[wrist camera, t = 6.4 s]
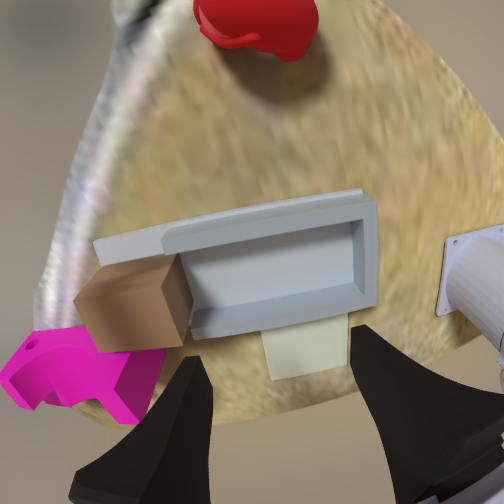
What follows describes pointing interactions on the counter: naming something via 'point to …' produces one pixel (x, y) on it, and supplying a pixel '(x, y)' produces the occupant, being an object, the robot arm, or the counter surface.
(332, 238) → the trough deck
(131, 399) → the magenta cradle bracket
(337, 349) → the sage coaster
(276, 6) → the red rounded piece
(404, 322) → the counter surface
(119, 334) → the walnut block
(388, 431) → the robot arm
